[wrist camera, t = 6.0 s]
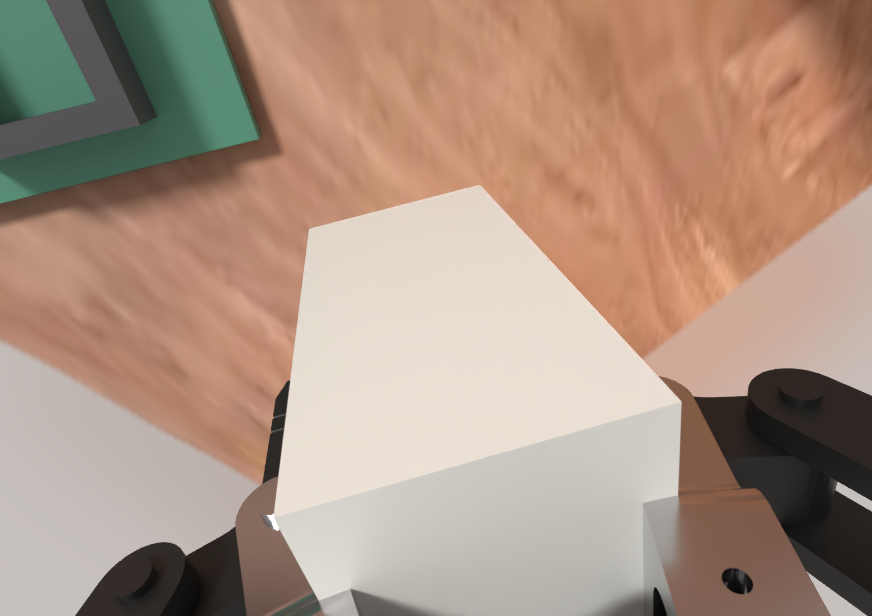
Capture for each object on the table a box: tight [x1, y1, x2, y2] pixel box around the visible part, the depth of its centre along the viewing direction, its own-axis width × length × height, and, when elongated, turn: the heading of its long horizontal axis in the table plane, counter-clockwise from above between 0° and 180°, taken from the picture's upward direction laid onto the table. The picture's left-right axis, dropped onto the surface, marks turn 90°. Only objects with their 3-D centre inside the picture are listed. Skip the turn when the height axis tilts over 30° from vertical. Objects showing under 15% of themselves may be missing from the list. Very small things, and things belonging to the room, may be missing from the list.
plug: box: [273, 185, 682, 616], centre depth 10 cm, size 4×7×8 cm, turn 12°
